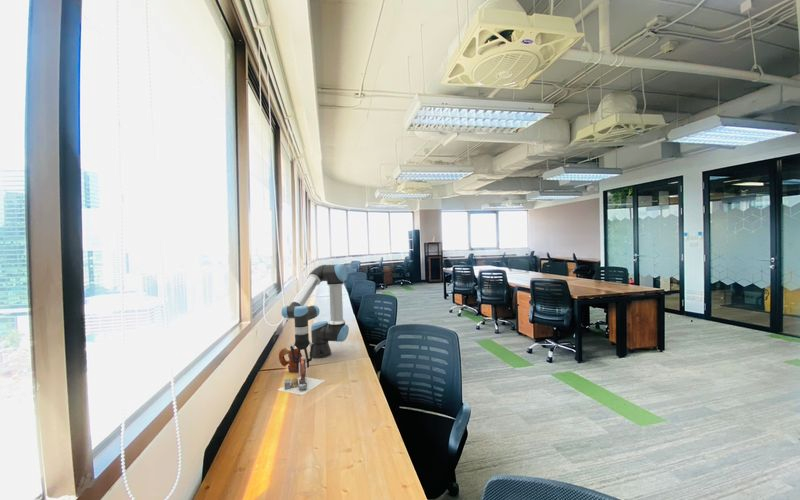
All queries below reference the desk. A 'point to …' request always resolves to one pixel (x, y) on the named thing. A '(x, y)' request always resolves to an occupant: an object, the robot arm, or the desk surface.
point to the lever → (302, 375)
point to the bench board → (310, 385)
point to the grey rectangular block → (287, 384)
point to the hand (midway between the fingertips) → (303, 373)
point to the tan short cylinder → (294, 383)
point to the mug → (292, 366)
